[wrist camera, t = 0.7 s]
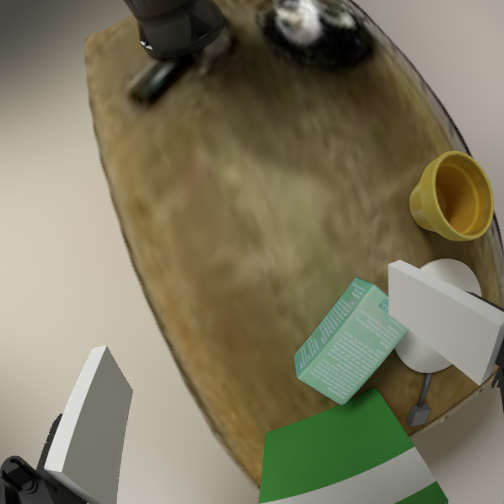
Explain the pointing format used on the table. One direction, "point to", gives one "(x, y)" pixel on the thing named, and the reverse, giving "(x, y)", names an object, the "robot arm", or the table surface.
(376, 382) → the table surface
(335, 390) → the box
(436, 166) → the plant pot
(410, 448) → the hardback book
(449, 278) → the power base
